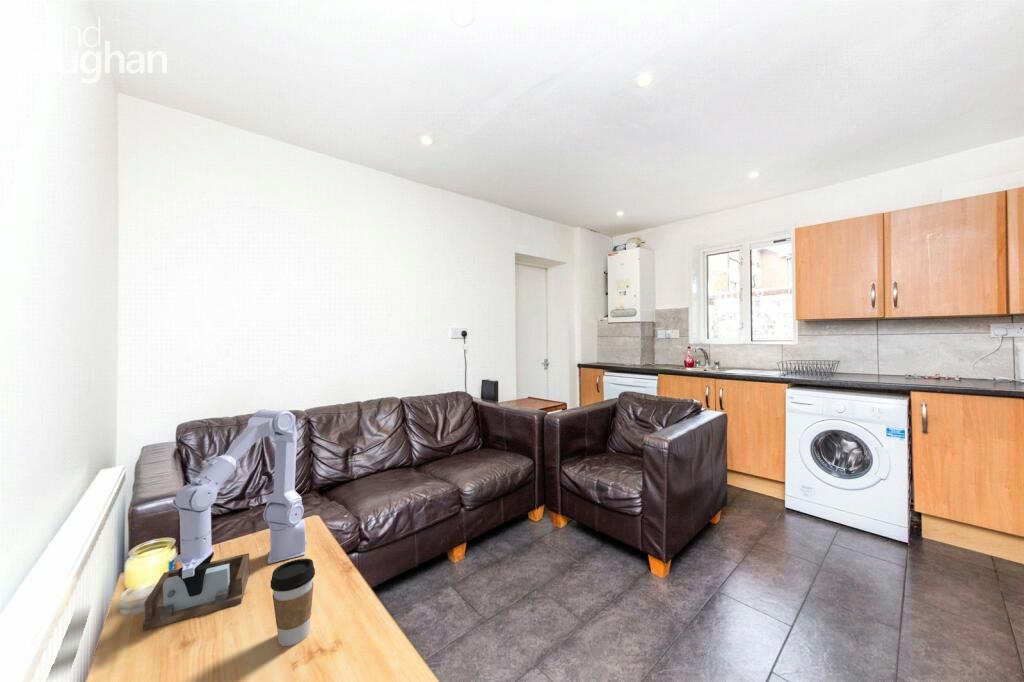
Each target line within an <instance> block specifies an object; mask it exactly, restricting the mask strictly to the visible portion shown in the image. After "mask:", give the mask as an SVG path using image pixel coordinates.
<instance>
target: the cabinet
mask: <svg viewBox="0 0 1024 682" xmlns="http://www.w3.org/2000/svg"><path fill="white" fill-rule="evenodd" d="M225 564H229V572H230V593H229V596H228V597H227V590H226V591H223V592H219V593H216V596H215V601H211V602H208V603H204V604H200V605H196V606H193V607H189V608H185V609H182V610H178V611H173V605H169V606H165V607H164V600H163V583H164V582H165V580H166V579H167V578H170V577H174V576H178V571H179V569H180V568H178V569H174V570H173V569H172V570H169V571H165V572H163V573H162V574H161V577H160V578H159V579H158V582H156V584H155V586H154V587H153V589H152V590H151V592H150V593H149V595H148V596H147V598H146V600H145V601H144V621H143V623H142V632H144V631H147V630H150V629H155V628H158V627H162V626H165V625H169V624H173V623H176V622H180V621H184V620H188V619H191V618H193V617H198V616H202V615H205V614H209V613H212V612H213V613H214V612H216V611H220V610H222V609H227V608H230V607H233V606H236V605H240V604H242V601H243V598H244V595H245V591H246V588H247V584H248V581H249V577H250V574H251V573H250V570H251V569H250V553H249V552H248V553H244V554H239V555H234V556H230V557H225V558H222V559H217V560H211V561H210V564H209V568H212V567H217V566H221V565H225Z"/></svg>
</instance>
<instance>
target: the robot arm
mask: <svg viewBox="0 0 1024 682" xmlns="http://www.w3.org/2000/svg"><path fill="white" fill-rule="evenodd" d="M266 437H271V438H272V439H274V440H275V452H274V454H275V456H274V457H275V458H274V474H273V475H274V477H273V493H272V494H271V495H269V496H268V498H267V499H266V504H265V505H266V506H265V508H264V510H263V514H262V518H263V520H264V522H265V523H267V526H268V527H269V545H270V546H269V549H270V550H269V554H268V559H267V564H269V565H270V564H273V563H277V562H281V561H286V560H290V559H293V558H298V557H301V556H304V555H306V545H307V537H306V519H302V518H303V517H304V513H305V510H304V505H303V501H302V500H303V499H302V496H301V495H300V494H299V493H298V492H297V491H296V490H295V487H296V469H297V468H296V464H297V446H298V444H297V443H298V429H297V427H296V415H295V414H293V413H292V412H291V411H289V410H275V409H274V410H273V409H271V410H270V409H259V410H257V411H255V412H254V413H253V415H252V416H251V417H250V418H249V419H248V421H247V426H246V427H245V428H244V429H243V430H242V432H241V433H240V434H239V436H238V437H237V438H236V439H235V441H233V443H232V444H231V445H230V447H228V449H227V450H226V452H225V453H224V454H223V455H220V456H215V457H214V458H213V459H211V458H210V460H209V461H208V462H207V465H206V467H204V468H203V470H202V471H201V472H200V473H199V474H198V475H197V476H196V477H194V478H193V479H192V480H191V483H187V484H186V485H184V486H182V487H181V488H180V489H179V490H178V491H177V492H176V494H175V498H174V499H172V505H173V507H175V509H177V510H178V515H179V536H180V537H179V538H180V539H179V542H180V544H179V545H180V554H178V555H176V556H175V557H174V558H173V562H174V563H178V562H179V563H180V565H181V567H180V568H178V569H179V571H178V576H179V577H180V578H181V579H182V580H183V582H184V583H185V586H186V588H187V591H188V594H189V596H190V597H192V596H196V595H200V594H201V592H202V588H203V582H204V576H205V573H206V570H207V569H208V568H209V564H210V562H212V559H213V557H214V555H215V552H214V551H213V546H212V509H211V508H212V505H214V504H215V502H216V500H217V499H218V498H217V497H218V493H219V491H220V490H221V488H222V486H223V485H224V484H225V483H226V482H227V480H228V479H229V478H230V477H231V475H232V474H233V473H234V472H235V471H236V470H237V461H239V459H241V457H242V456H243V455H245V453H247V452H248V450H249V449H251V448H252V446H254V445H255V444H256V442H258V440H260V439H262V438H266Z"/></svg>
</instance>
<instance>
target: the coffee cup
mask: <svg viewBox="0 0 1024 682" xmlns="http://www.w3.org/2000/svg"><path fill="white" fill-rule="evenodd" d="M315 575H316V568H315V567H314V561H313V559H312V558H298V559H294V560H293V559H292V560H290V561H286V562H284V563H282V564H280V565H278V566H277V567H276V568H274V569H273V571H272V573H271V579H270V589H271V590H272V602H273V609H274V616H275V624H276V632H277V638H278V639H277V640H278V644H279V645H280V646H282V647H292V646H294V645H296V644H299V643H301V642H302V641H304V640H305V639H306V638H307V637H308V635H309V634H310V631H311V616H312V607H313V606H312V605H313V604H312V603H313V593H314V577H315Z"/></svg>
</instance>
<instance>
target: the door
mask: <svg viewBox="0 0 1024 682" xmlns="http://www.w3.org/2000/svg"><path fill="white" fill-rule="evenodd" d="M226 590H227V597H228V596H229V593H230V572H229V564H225V565H221V566H217V567H212V568H208V569H207V570H206V573H205V576H204V582H203V588H202V592H201V594H200V595H196V596H192V597H190V596H189V594H188V591H187V588H186V586H185V583H184V582H183V580H182V579H181V578H180V577H179V576H174V577H170V578H167V579H166V580H165V582H164V583H163V600H164V607H165V606H169V605H173V611H178V610H182V609H185V608H189V607H193V606H196V605H200V604H204V603H208V602H211V601H215V596H216V593H219V592H223V591H226Z"/></svg>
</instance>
